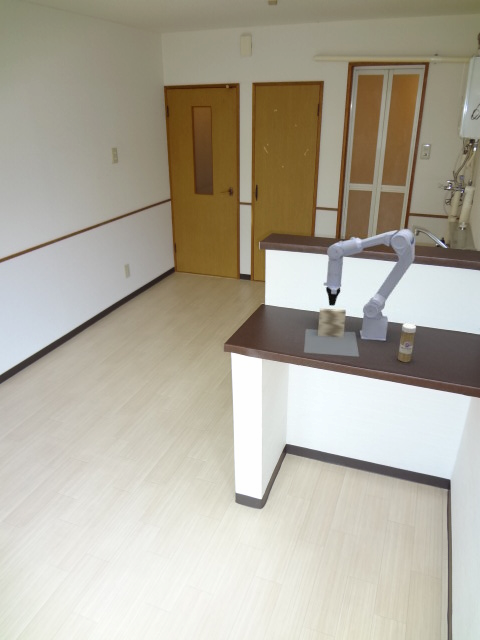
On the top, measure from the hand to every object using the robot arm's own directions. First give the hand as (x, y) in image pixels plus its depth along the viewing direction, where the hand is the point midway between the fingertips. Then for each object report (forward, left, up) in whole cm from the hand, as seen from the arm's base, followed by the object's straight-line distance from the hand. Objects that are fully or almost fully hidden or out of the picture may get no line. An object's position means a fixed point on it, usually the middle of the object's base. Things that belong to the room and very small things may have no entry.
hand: (331, 305), depth 188 cm
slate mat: (0, +15, -10) cm, 18 cm away
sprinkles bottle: (-26, +25, -10) cm, 38 cm away
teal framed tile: (0, +9, -10) cm, 13 cm away
